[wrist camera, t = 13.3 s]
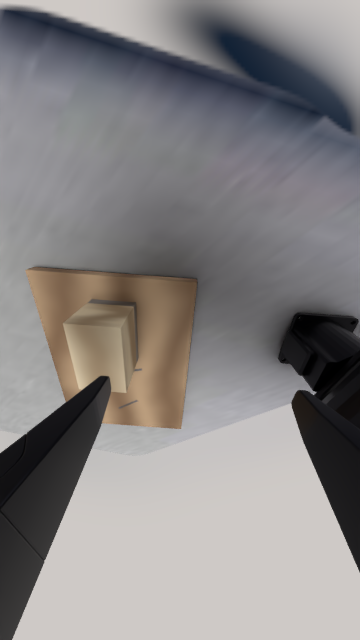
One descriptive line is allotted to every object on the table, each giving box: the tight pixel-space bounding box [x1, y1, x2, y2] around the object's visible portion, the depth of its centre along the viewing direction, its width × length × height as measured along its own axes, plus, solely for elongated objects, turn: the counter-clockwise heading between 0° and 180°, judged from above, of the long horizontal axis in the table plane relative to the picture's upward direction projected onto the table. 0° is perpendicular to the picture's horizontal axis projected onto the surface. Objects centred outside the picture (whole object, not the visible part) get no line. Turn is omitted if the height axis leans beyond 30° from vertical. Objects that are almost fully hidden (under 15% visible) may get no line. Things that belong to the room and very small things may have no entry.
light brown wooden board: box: [26, 267, 197, 429], centre depth 23 cm, size 16×22×1 cm
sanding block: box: [63, 299, 138, 393], centre depth 18 cm, size 4×7×5 cm, turn 176°
